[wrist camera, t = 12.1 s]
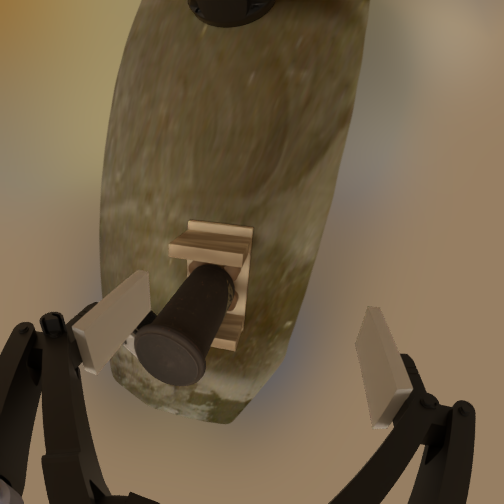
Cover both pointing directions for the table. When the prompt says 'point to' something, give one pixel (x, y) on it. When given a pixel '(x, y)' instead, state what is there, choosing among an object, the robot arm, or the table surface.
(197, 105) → the table surface
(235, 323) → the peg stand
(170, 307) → the container
